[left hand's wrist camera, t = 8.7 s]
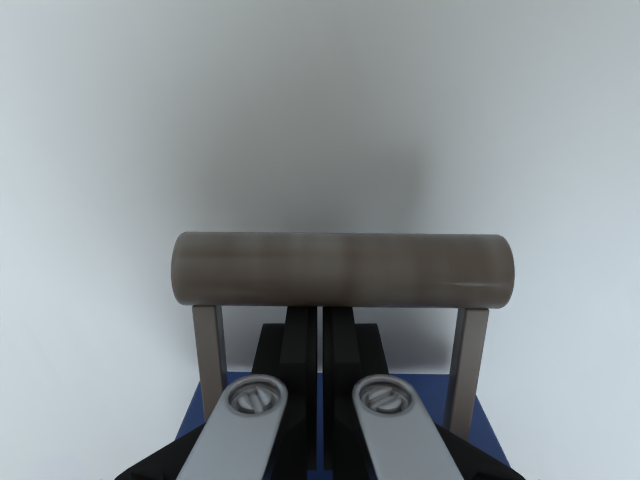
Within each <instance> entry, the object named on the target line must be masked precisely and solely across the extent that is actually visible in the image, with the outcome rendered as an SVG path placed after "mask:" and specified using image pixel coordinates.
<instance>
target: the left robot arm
mask: <svg viewBox="0 0 640 480" xmlns="http://www.w3.org/2000/svg"><path fill="white" fill-rule="evenodd" d="M316 462H317V307H307V306H288V308H287V315H286V322H285V324H263V326H262V330H261V334H260V339H259V343H258V347H257V351H256V355H255V360H254V364H253V368H252V372H251V375H248V376H244V377H242V378H239V379H237V380H235V381H234V382H232V383H231V384H229V385H228V386H227V388H226V389H225V390H224V391H223V393H222V395H221V397H220V399H219V401H218V402H217V404H216V406H215V408H214V410H213V412H212V414H211V415H210V417H209V419H208V421H207V422H205V423H204V424H202V425H200V426H199V427H197V428H195V429H194V430H192V431H190V432H189V433H187V434H185V435H184V436H182V437H180V438H179V439H177V440H175V441H173V442H172V443H170V444H168V445H167V446H165V447H163V448H162V449H160V450H158V451H157V452H155V453H153V454H152V455H150V456H148V457H147V458H145V459H143V460H142V461H140V462H138V463H137V464H135V465H133V466H132V467H130V468H128V469H127V470H125V471H124V472H123V473H121V474H120V475H119V476H117V477H116V478H115V480H307V476H308V471H316ZM323 467H324V471H332V477H333V480H525V478H524V477H523V476H521V475H520V474H519V473H517V472H516V471H514V470H513V469H512V468H510V467H508V466H507V465H505V464H503V463H502V462H500V461H498V460H497V459H495V458H493V457H492V456H490V455H488V454H487V453H485V452H483V451H482V450H480V449H478V448H477V447H475V446H473V445H472V444H470V443H468V442H466V441H465V440H463V439H461V438H460V437H458V436H456V435H455V434H453V433H451V432H450V431H448V430H446V429H445V428H443V427H441V426H440V425H438V424H436V423H435V422H433V421H432V419H431V417H430V415H429V414H428V412H427V410H426V408H425V406H424V404H423V402H422V401H421V399H420V397H419V395H418V393H417V391H416V390H415V389H414V388H413V386H412V385H411V384H409V383H408V382H406V381H405V380H403V379H401V378H398V377H396V376H392V375H389V372H388V368H387V364H386V360H385V356H384V351H383V347H382V343H381V339H380V335H379V330H378V326H377V324H355V322H354V315H353V308H352V307H323Z"/></svg>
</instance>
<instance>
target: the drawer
mask: <svg viewBox="0 0 640 480" xmlns="http://www.w3.org/2000/svg"><path fill="white" fill-rule="evenodd" d="M514 277H515V270H514V260H513V255H512V251H511V248H510V246H509V244H508V242H507V241H506V239H505V238H504V237H502V236H500V235H485V234H372V233H260V232H184V233H182V234H181V235H180V236H179V237H178V239H177V241H176V243H175V246H174V250H173V255H172V262H171V281H172V288H173V292H174V295H175V298H176V300H177V301H178V302H179V303H180V304H182V305H193V306H192V312H193V320H194V329H195V338H196V347H197V356H198V365H199V373H200V382H199V384H198V386H197V389H196V391H195V393H194V396H193V398H192V401H191V403H190V405H189V408H188V410H187V412H186V415H185V417H184V420H183V422H182V424H181V427H180V429H179V431H178V434H177V436H176V438H175V440H177V439H179V438H180V437H182V436H184V435H185V434H187V433H189V432H190V431H192V430H194V429H195V428H197V427H199V426H200V425H202V424H204V423H205V422H207V421H208V419H209V417H210V415H211V414H212V412H213V410H214V408H215V406H216V404H217V402H218V401H219V399H220V397H221V395H222V393H223V391H224V390H225V389H226V388H227V386H228V385H229V384H231V383H232V382H234V381H235V380H237V379H239V378H242V377H244V376H248V375H251V372H227V366H226V354H225V342H224V331H223V319H222V308H221V306H307V307H400V308H458V314H457V322H456V329H455V336H454V344H453V351H452V359H451V366H450V374H389V375H392V376H396V377H398V378H401V379H403V380H405V381H406V382H408V383H409V384H411V385H412V386H413V388H414V389H415V390H416V391H417V393H418V395H419V397H420V399H421V401H422V402H423V404H424V406H425V408H426V410H427V412H428V414H429V415H430V417H431V419H432V421H433V422H435V423H436V424H438V425H440V426H441V427H443V428H445V429H446V430H448V431H450V432H451V433H453V434H455V435H456V436H458V437H460V438H461V439H463V440H465V441H466V442H468V443H470V444H472V445H473V446H475V447H477V448H478V449H480V450H482V451H483V452H485V453H487V454H488V455H490V456H492V457H493V458H495V459H497V460H498V461H500V462H502V463H503V464H505V465H507V466H508V467H510V465H509V463H508V460H507V458H506V456H505V454H504V452H503V450H502V448H501V446H500V444H499V442H498V440H497V438H496V436H495V433H494V431H493V429H492V427H491V425H490V423H489V421H488V419H487V417H486V415H485V413H484V411H483V408H482V406H481V404H480V402H479V400H478V398H477V396H476V389H477V383H478V376H479V370H480V364H481V358H482V352H483V346H484V340H485V334H486V327H487V321H488V315H489V309H488V308H494V309H498V308H502V307H504V306H505V305H506V304H507V303H508V302H509V300H510V298H511V295H512V292H513V287H514ZM510 468H511V467H510ZM307 480H333V477H332V471H324V467H323V373H317V462H316V471H308V476H307Z"/></svg>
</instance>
